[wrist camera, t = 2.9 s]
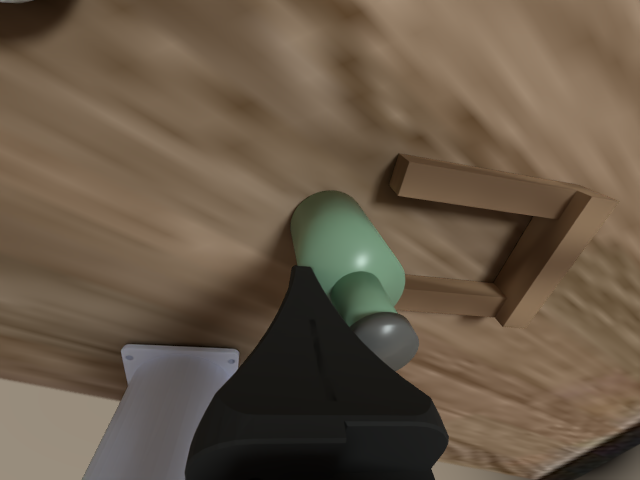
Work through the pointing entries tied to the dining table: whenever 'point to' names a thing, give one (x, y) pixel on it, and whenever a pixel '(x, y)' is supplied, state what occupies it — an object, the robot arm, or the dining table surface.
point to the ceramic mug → (15, 1)
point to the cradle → (528, 255)
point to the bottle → (355, 272)
